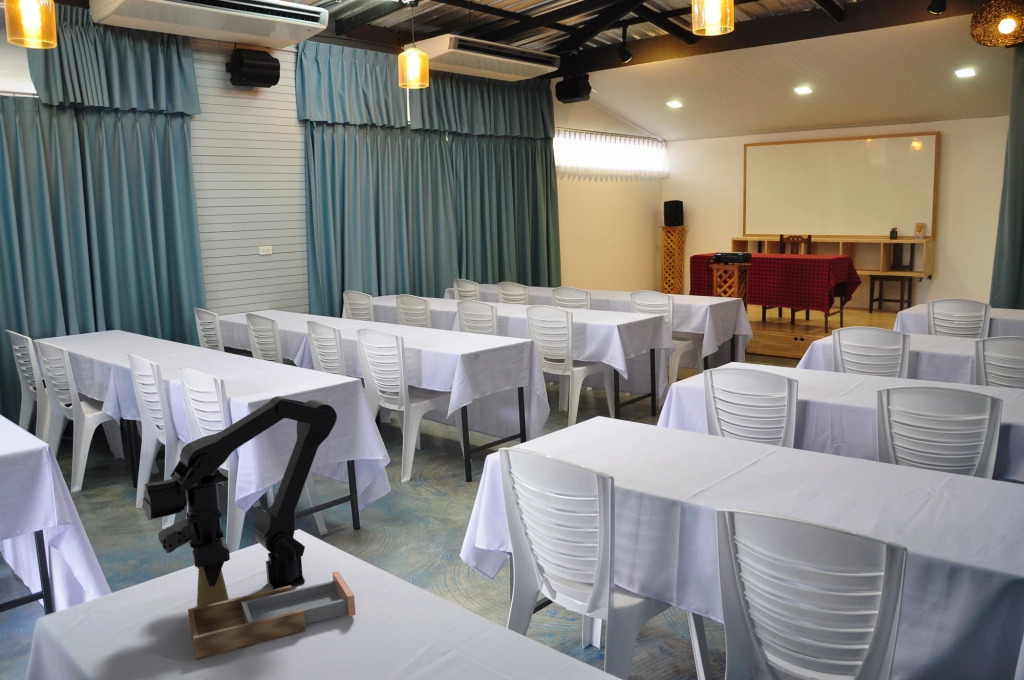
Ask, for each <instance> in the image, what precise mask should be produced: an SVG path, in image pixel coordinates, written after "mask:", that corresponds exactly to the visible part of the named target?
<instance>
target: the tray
mask: <svg viewBox="0 0 1024 680" xmlns="http://www.w3.org/2000/svg"><path fill="white" fill-rule="evenodd" d="M331 574H332V580H330V581H326V582H321V583H318V584H317V583H316V584H314V585H308V586H306V587H304V586H303V587H300V588H297V589H292V590H291V591H287V592H283V593H278V594H274V595H270V596H265V597H261V598H257V599H253V600H248V601H244V602H241V603H242V614H243V618H244V621H245V624H246V623H250V622H254V621H258V620H262V619H266V618H270V617H274V616H278V615H282V614H286V613H290V612H294V611H298V610H302V609H303V610H304V619H305V625H309V624H312V623H317V622H321V621H325V620H329V619H332V618H336V617H340V616H344V615H348V617H352V616H356V605H355V604H356V603H355V601H356V600H355V595H354V593H353V592H352V590H351V588H350V587H349V585H348V583H347V582H346V580H345V579H344V577H343V576H342V574H341V573H340V572H339V570H338V571H334V572H332V573H331Z"/></svg>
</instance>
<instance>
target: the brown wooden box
mask: <svg viewBox="0 0 1024 680" xmlns="http://www.w3.org/2000/svg"><path fill="white" fill-rule="evenodd" d="M292 586H293V585H292ZM292 586H291V585H290V586H286V587H282V588H277V589H273V588H272V589H270V590H266V591H261V592H260V591H259V592H257V593H253V594H252V593H251V594H247V595H243V596H238V597H235V598H231V599H230V598H229V600H225V601H221V602H217V603H212V604H208V605H204V606H200V607H197V606H195V607H192V608H191V607H190V608H187V614H188V624H189V625H188V627H189V633H190V637H191V643H192V648H193V653H194V656H195V660H197V661H198V660H200V659H204V658H208V657H211V656H215V655H219V654H220V655H221V654H224V653H227V652H231V651H235V650H238V649H243V648H247V647H251V646H254V645H257V644H258V645H259V644H262V643H265V642H269V641H273V640H276V639H282V638H284V637H285V638H286V637H289V636H293V635H297V634H300V633H305V632H306V624H305V619H304V610H303V609H302V610H298V611H294V612H290V613H286V614H282V615H278V616H274V617H270V618H266V619H262V620H258V621H254V622H250V623H246V624H245V621H244V618H243V614H242V603H241V602H244V601H248V600H253V599H257V598H261V597H265V596H270V595H274V594H278V593H283V592H287V591H291V590H293V587H292Z"/></svg>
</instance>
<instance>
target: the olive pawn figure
mask: <svg viewBox="0 0 1024 680" xmlns="http://www.w3.org/2000/svg"><path fill="white" fill-rule="evenodd" d="M196 568H197V570H198V574H197V578H198V579H197V596H196V597H197V598H196V607H200V606H204V605H208V604H212V603H217V602H221V601H225V600H230V598H229V593H228V589H227V587H226V586H227V585H226V582H225V578H224V575H223V568H222V569H221V571H220V574H219V577H218V580H217V582H216V585H215V586H212V587H210V586H209V584H208V581H207V578H206V575H205V572H204V569H203V566H202V567H196Z"/></svg>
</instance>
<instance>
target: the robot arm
mask: <svg viewBox="0 0 1024 680" xmlns="http://www.w3.org/2000/svg"><path fill="white" fill-rule="evenodd" d="M284 419H289V420H292V421H296V441H295V444H294V447H293V449H292V452H291V455H290V457H289V461H288V462H287V466H286V468H285V471H284V474H283V476H282V480H281V482H280V484H279V488H278V490H277V492H276V496H275V499H274V501H273V503H272V505H270V506H269V508H268V509H267V510H264V509H262V508H261V509H260V510H259V512H258V517H257V520H256V522H255V523H254V525H253V526H252V528H253V529H254V537H255V540H256V542H257V543H259V544H260V545H261V546H262V547H264V548H265V549H266V551H267V552H268V553H267V559H268V560H266V561H265V566H266V567H265V569H266V571H265V572H266V580H267V581H268V582H267V583H269V585H271V588H272V590H273V589H277V588H282V587H286V586H290V585H291V586H295V585H300V584H304V583H305V582H306V580H305V578H304V576H303V563H302V557H303V556H304V552H305V548H306V546H305V545H303V544H302V543H301V542H300V541H299V540H297V539H296V538H295V537H294V535H295V529H296V509H297V507H298V504H299V502H300V498H301V495H302V493H303V490H304V487H305V484H306V482H307V479H308V476H309V474H310V472H311V471H310V470H311V468H312V465H313V462H314V460H315V457H316V454H317V451H318V449H319V447H320V446H321V445H322V444H323V443H324V442H325V440H326V439H327V438H328V437H329V436H330V434H331V433H332V431H333V429H334V428H335V425H336V424H337V423H336V422H337V419H338V414H337V413H336V410H335V408H334V407H333V406H331V405H329V404H328V403H325V402H322V401H319V400H317V399H310V400H307V401H306V402H304V401H300V400H295V399H290V398H286V397H283V396H280V395H279V396H278V395H277V396H274V397H272V398H271V399H270V400H269V401H268V402H266V403H264V404H263V405H261V406H260V407H258V408H257V409H255V410H254V411H252V412H250V413H248V414H247V415H245V416H244V417H242V418H240V419H239V420H237V421H236V422H234V423H232V424H231V425H228V427H226V428H225V429H223V430H221V431H218V432H216V433H213V434H209V435H206V436H202V437H200V438H198V439H196V440H192V441H190V442H189V443H186V444H185V445H184V446H183V447H182V448H181V451H180V454H179V461H178V462H177V464H176V465H175V467H174V468H173V470H172V472H171V474H170V475H169V477H170V479H166V480H161V481H156V482H155V481H153V482H147V483H145V484H144V491H143V497H142V504H143V510H144V513H145V516H146V518H147V520H148V521H153V520H156V519H161V518H164V517H169V516H172V515H177V514H180V513H182V511H184V510H185V507H186V506H187V512H186V513H185V515H186V518H184V519H182V520H180V521H177V522H176V523H173V524H172V525H170V526H168V527H166V528H164V529H162V530H161V531H159V532H158V534H157V535H158V540H159V542H160V544H161V547H162V549H164V551H165V552H166V554H170V553H172V552H174V551H175V550H176V549H177V548H179V547H181V546H183V545H185V544H187V543H189V546H190V548H191V549H193V550H192V559H193V564H194V567H195V568H197V567H202V566H203V569H204V572H205V575H206V578H207V581H208V584H209V586H210V587H212V586H215V585H216V582H217V580H218V577H219V574H220V571H221V569H222V570H223V565H224V564H225V562H228V561H231V560H230V559H231V557H230V549H229V547H228V544H227V543H226V542H224V541H223V539H222V538H224V531H223V529H222V520H221V519H222V511H221V508H220V500H219V498H220V497H219V487H218V483H219V484H220V483H222V482H223V483H224V482H226V481H229V478H228V476H227V475H225V474H224V473H222V472H221V471H220V470H219V469H218V468H220V467H221V466H222V465H223V464H224V463H225V462H226V461H227V460H228V459H229V457H230V456H231V455H232V453H233V452H234V451H236V450H237V449H238V448H240V447H242V446H243V445H245V444H246V443H248V442H249V441H251V440H253V439H254V438H256V437H257V436H259V435H261V434H262V433H264V432H265V431H267V430H269V429H270V428H271V427H273V426H274V425H276V424H277V423H279V422H280V421H282V420H284Z"/></svg>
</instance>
